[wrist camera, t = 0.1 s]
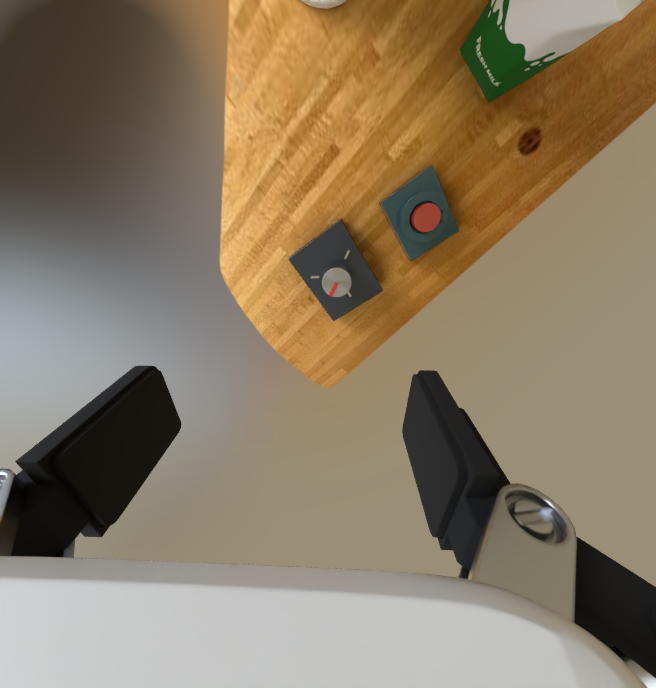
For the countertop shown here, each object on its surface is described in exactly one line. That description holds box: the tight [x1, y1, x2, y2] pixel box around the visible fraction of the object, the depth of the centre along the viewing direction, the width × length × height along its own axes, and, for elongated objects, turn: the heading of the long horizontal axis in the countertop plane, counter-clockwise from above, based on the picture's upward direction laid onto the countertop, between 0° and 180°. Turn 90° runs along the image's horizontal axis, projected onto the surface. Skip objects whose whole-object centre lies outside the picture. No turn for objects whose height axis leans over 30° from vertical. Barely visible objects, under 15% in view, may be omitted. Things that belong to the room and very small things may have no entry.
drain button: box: [411, 203, 441, 232], centre depth 36 cm, size 4×4×2 cm
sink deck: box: [289, 219, 383, 321], centre depth 43 cm, size 13×10×3 cm
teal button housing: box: [379, 165, 459, 261], centre depth 38 cm, size 10×8×4 cm
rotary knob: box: [322, 262, 352, 297], centre depth 39 cm, size 4×4×5 cm
